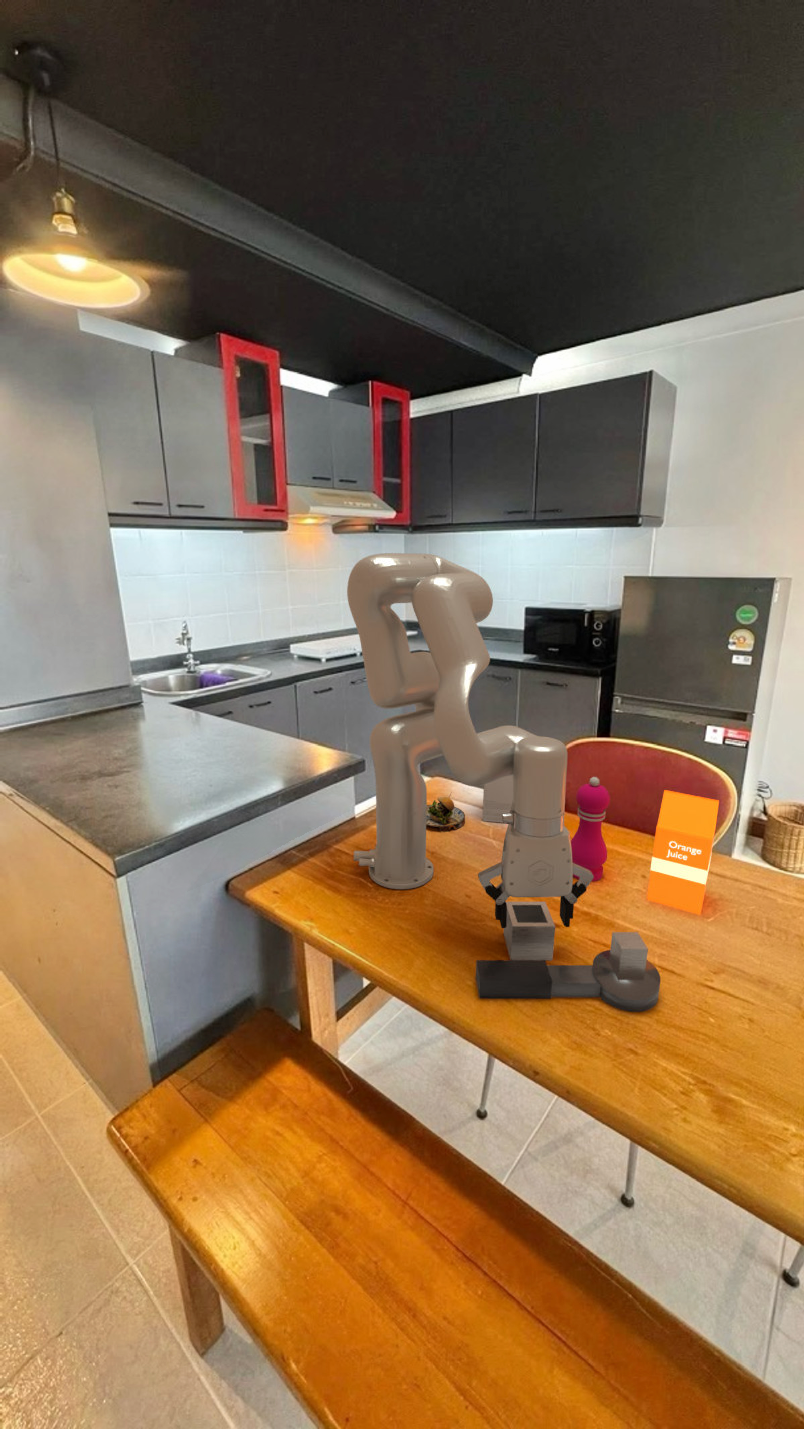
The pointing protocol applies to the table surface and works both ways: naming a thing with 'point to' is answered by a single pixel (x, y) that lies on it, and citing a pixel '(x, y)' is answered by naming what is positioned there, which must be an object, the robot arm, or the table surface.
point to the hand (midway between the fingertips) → (533, 922)
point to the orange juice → (682, 851)
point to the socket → (529, 931)
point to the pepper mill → (590, 828)
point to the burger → (444, 815)
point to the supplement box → (497, 799)
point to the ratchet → (578, 977)
